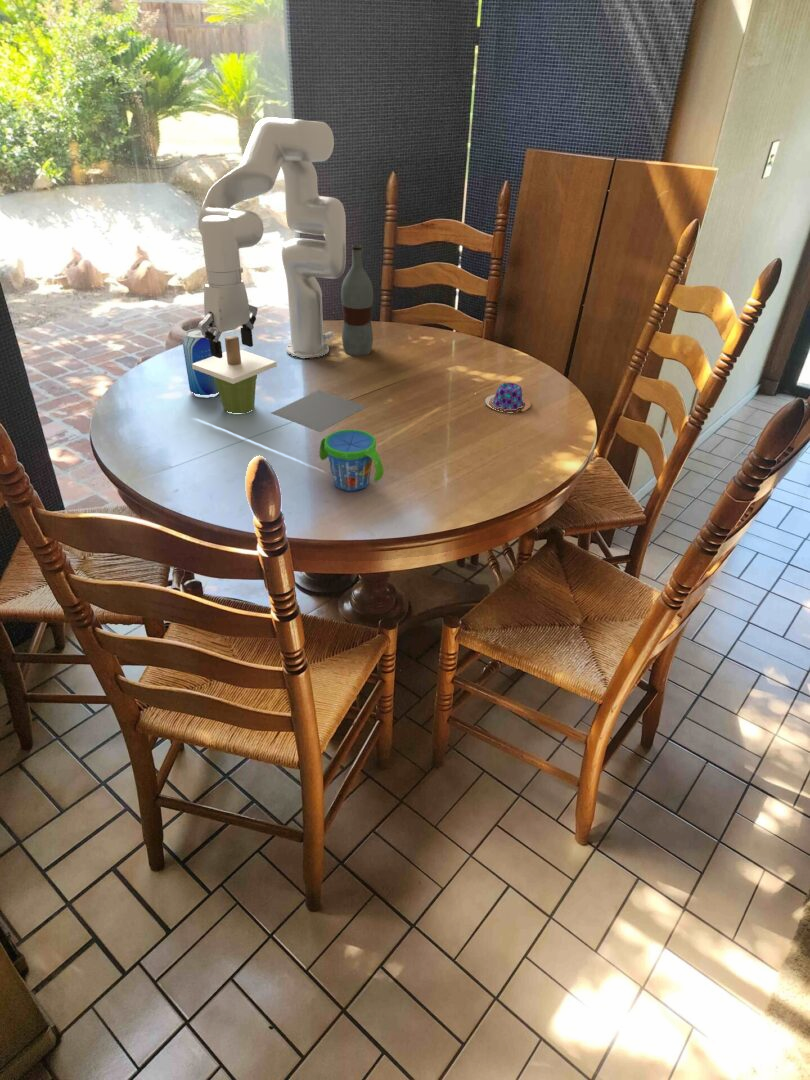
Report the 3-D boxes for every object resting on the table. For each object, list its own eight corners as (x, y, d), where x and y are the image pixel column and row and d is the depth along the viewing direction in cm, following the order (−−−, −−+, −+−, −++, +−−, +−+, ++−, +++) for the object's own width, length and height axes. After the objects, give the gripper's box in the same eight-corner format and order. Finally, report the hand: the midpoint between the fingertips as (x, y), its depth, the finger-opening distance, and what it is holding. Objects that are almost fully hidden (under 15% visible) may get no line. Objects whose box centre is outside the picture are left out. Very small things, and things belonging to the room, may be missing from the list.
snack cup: (307, 478, 150) (305, 435, 144) (344, 461, 156) (343, 420, 150) (358, 507, 141) (358, 463, 135) (394, 488, 148) (395, 445, 142)
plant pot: (271, 404, 179) (267, 361, 172) (250, 424, 170) (245, 379, 163) (228, 397, 181) (223, 355, 175) (206, 416, 172) (199, 373, 165)
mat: (319, 392, 186) (319, 390, 186) (366, 408, 179) (366, 406, 178) (271, 415, 174) (270, 412, 173) (320, 433, 167) (319, 431, 166)
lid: (236, 352, 177) (233, 324, 173) (276, 366, 170) (274, 337, 166) (192, 368, 168) (188, 339, 163) (233, 384, 161) (229, 353, 157)
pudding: (480, 410, 181) (482, 391, 178) (490, 393, 190) (492, 374, 187) (526, 418, 178) (529, 399, 175) (534, 399, 187) (537, 381, 184)
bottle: (378, 349, 212) (380, 245, 195) (361, 359, 206) (361, 251, 189) (353, 343, 216) (352, 240, 199) (335, 351, 210) (333, 246, 192)
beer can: (205, 402, 178) (196, 341, 169) (183, 393, 182) (174, 332, 173) (230, 392, 184) (223, 332, 175) (209, 383, 188) (201, 324, 179)
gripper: (240, 266, 164) (248, 337, 174) (182, 281, 152) (193, 357, 162) (264, 272, 161) (269, 344, 171) (205, 288, 149) (215, 365, 159)
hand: (232, 350), depth 167 cm, fingers open, 9 cm apart
